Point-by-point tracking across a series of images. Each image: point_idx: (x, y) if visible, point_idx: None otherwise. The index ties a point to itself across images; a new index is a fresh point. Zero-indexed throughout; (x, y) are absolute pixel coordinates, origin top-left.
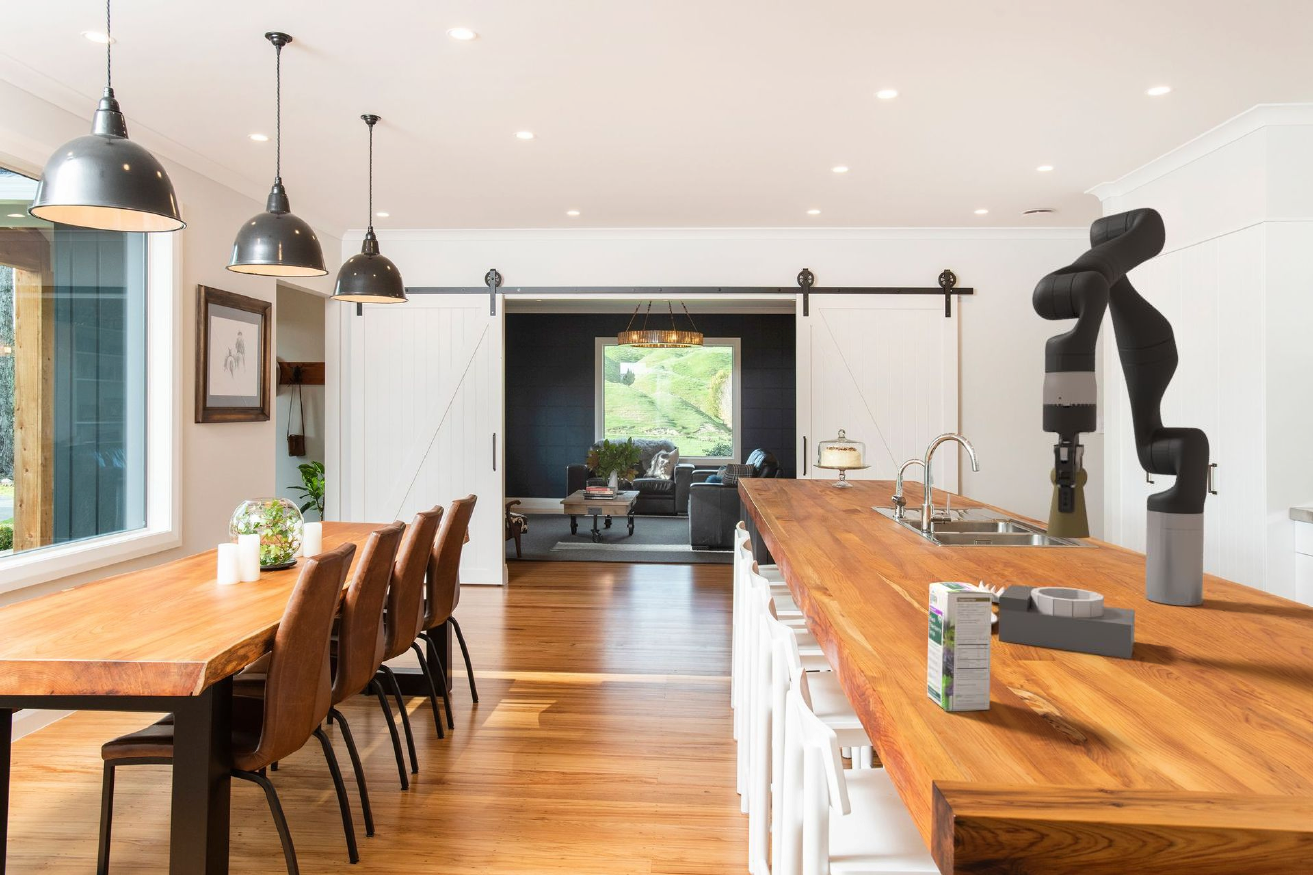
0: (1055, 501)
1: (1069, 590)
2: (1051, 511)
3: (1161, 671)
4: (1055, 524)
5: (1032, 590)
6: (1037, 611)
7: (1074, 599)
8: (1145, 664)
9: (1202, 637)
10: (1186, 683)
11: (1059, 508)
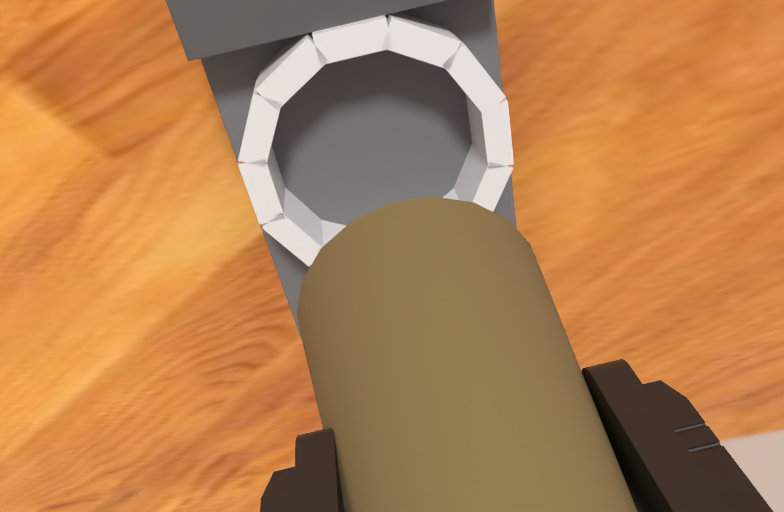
0: (365, 456)
1: (482, 136)
2: (377, 349)
3: (249, 352)
4: (315, 332)
5: (339, 31)
6: (251, 74)
7: (289, 221)
8: (281, 316)
9: (642, 325)
10: (198, 403)
11: (299, 457)
